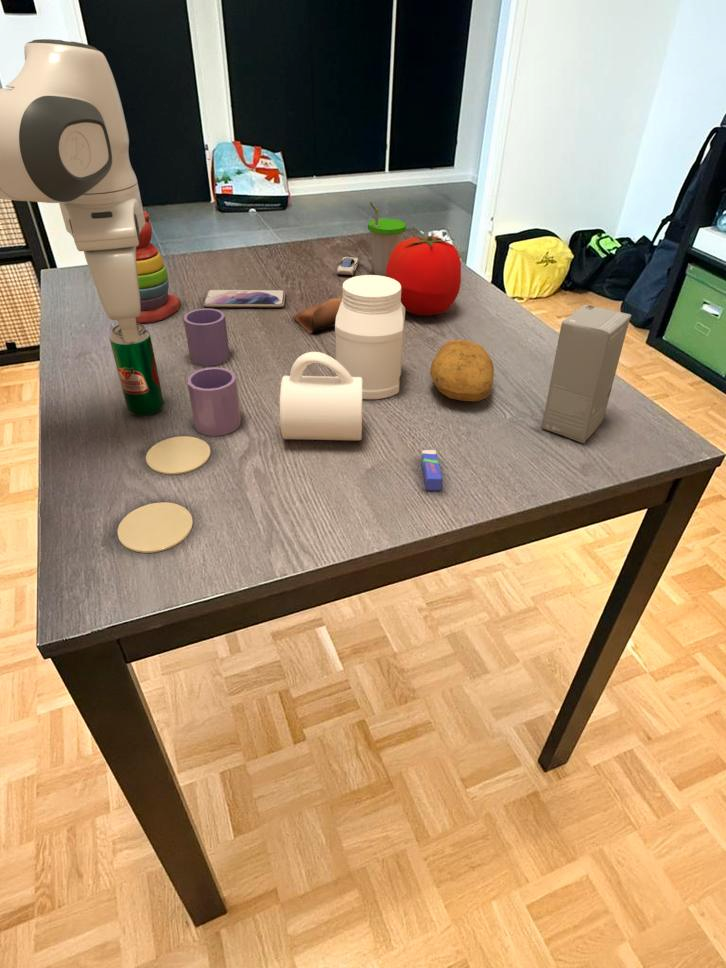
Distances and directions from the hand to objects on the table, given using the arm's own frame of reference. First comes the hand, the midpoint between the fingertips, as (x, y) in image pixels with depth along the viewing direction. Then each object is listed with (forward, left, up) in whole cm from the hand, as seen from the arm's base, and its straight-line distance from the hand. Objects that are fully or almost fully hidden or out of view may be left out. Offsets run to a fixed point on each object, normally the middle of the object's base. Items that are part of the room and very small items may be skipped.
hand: (129, 324), depth 80 cm
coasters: (+1, -19, -13) cm, 23 cm away
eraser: (+32, -27, -13) cm, 44 cm away
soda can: (0, 0, -13) cm, 13 cm away
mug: (+22, -14, -13) cm, 29 cm away
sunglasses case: (+37, +22, -13) cm, 45 cm away
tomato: (+52, +21, -13) cm, 57 cm away
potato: (+45, -9, -13) cm, 47 cm away
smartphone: (+21, +34, -13) cm, 42 cm away
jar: (+33, -2, -13) cm, 35 cm away
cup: (+52, +40, -13) cm, 67 cm away
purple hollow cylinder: (+11, +13, -13) cm, 21 cm away
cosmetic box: (+56, -22, -13) cm, 61 cm away
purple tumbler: (+9, -7, -13) cm, 17 cm away
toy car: (+46, +46, -13) cm, 66 cm away
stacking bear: (+3, +34, -13) cm, 37 cm away
